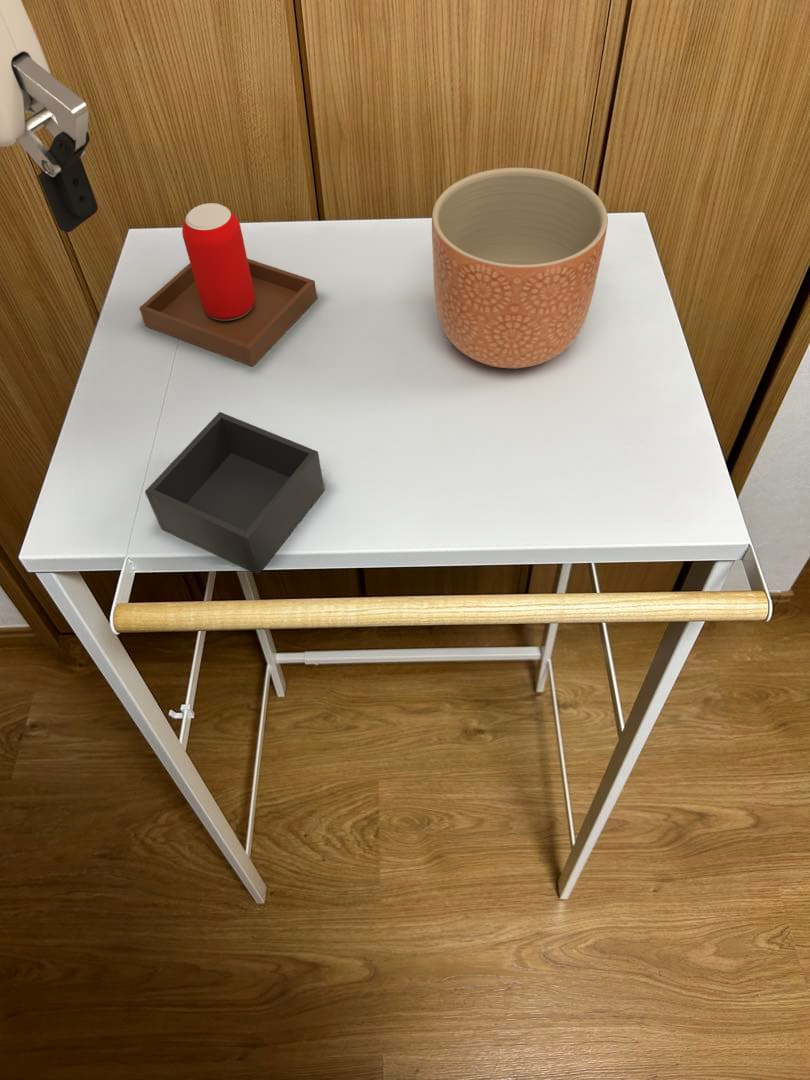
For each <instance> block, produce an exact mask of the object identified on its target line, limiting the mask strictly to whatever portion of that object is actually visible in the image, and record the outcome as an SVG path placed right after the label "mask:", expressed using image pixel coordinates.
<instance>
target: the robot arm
mask: <svg viewBox="0 0 810 1080" xmlns="http://www.w3.org/2000/svg"><path fill="white" fill-rule="evenodd" d="M49 67H50V66H49V64H48V61H47V60H46V57H45V54H44V52H43V48H42V46H41V44H40V41H39V39H38V37H37V34H36V31H35V29H34V26H33V24H32V21H31V20H30V17H29V15H28V12H27V10H26V7H25V6H24V4H23V1H22V0H0V147H1V148H7V147H10V146H13V145H15V144H16V143H18V144H19V145H20V146H21V147H22V148H23V150H25V152H26V153H27V154H28V155H29V156H30V157H31V158H32V160H33V161H34V162H35V163H36V164H37V165H38V167H39V168H40V169H41V170H42V172H41V173H39V174H37V177H38V180H39V183H40V185H41V188H42V190H43V193H44V196H45V198H46V200H47V202H48V205H49V207H50V210H51V212H52V214H53V218H54V220H55V223H56V225H57V228H58V229H59V230H61V231H62V232H66V233H71V232H72V231H74V230H75V229H77V228H78V227H79V226H80V225H82V224H84V223H85V222H86V221H87V220H89V219H90V218H91V217H92V216H93V215H95V214H96V213H97V211H98V208H99V205H98V202H97V199H96V196H95V194H94V191H93V188H92V185H91V183H90V180H89V177H88V174H87V171H86V169H85V166H84V163H83V160H82V158H84V157H85V156H86V148H87V147H88V145H89V142H90V138H91V137H90V134H89V121H90V120H89V119H90V109H89V106H88V104H87V103H86V101H84V99H82V97H81V96H79V95H77V94H76V93H75V92H74V91H72V90H71V89H70V88H69V87H67V85H65V84H64V83H62V82H61V81H60V80H58V79H57V77H55V76H54V75H52V74H51V70H50V68H49ZM25 113H26V114H30V115H31V116H30V117H29V118H27V119H26V118H25V117H26V116H25V115H26V114H25ZM43 128H45V129H46V130H47V131H48V132H49V133H50V135H51V136H52V137H53V140H52V143H51V145H50V147H49V148H47V147H46V146H45V145H44V143H43V142H42V141H41V140H40V138H39V137H38V136H37V134H35V133H37V132H38V131H40V130H42V129H43Z"/></svg>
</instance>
